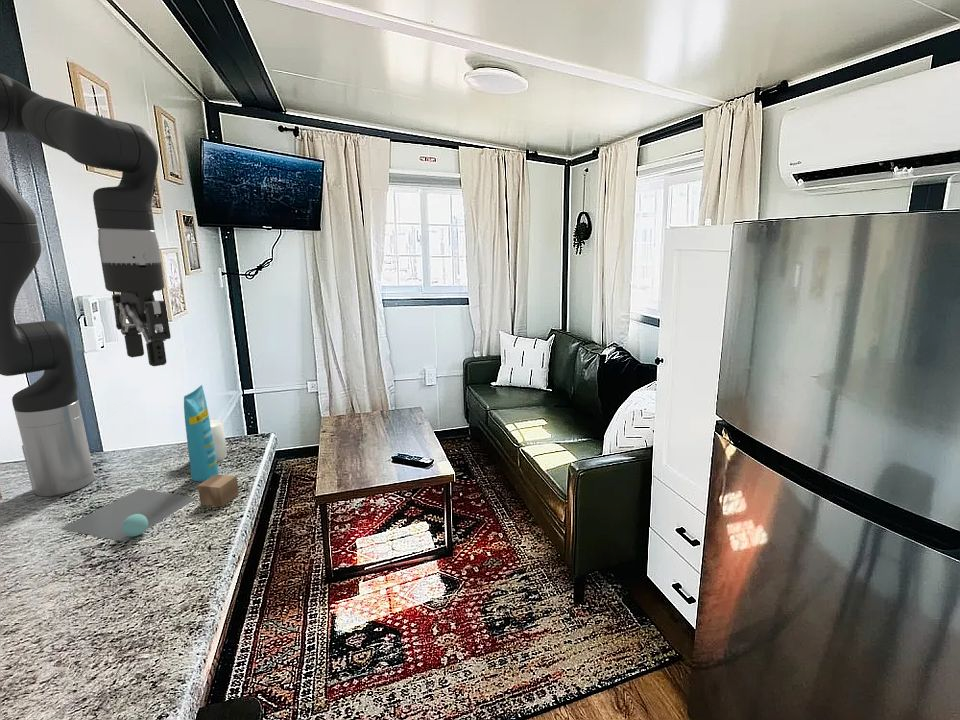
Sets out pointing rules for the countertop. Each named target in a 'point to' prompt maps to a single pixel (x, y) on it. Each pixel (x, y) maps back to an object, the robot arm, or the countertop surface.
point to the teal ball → (134, 525)
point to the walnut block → (218, 490)
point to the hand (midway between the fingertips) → (146, 360)
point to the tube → (199, 436)
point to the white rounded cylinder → (218, 439)
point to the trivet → (129, 513)
